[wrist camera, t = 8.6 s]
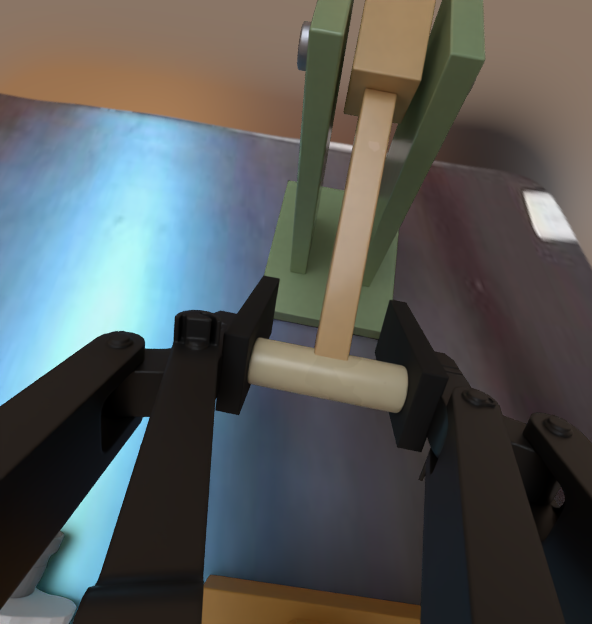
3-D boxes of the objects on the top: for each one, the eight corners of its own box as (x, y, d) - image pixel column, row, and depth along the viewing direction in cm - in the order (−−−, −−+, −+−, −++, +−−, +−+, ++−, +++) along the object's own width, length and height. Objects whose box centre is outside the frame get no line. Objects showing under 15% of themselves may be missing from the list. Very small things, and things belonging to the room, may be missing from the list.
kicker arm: (388, 406, 13) (407, 421, 11) (252, 378, 13) (242, 389, 11) (450, 61, 14) (481, 4, 12) (320, 38, 14) (324, -22, 12)
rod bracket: (384, 340, 23) (550, 141, 9) (256, 315, 23) (230, 83, 9) (396, 212, 27) (523, -59, 13) (287, 192, 27) (301, -96, 13)
